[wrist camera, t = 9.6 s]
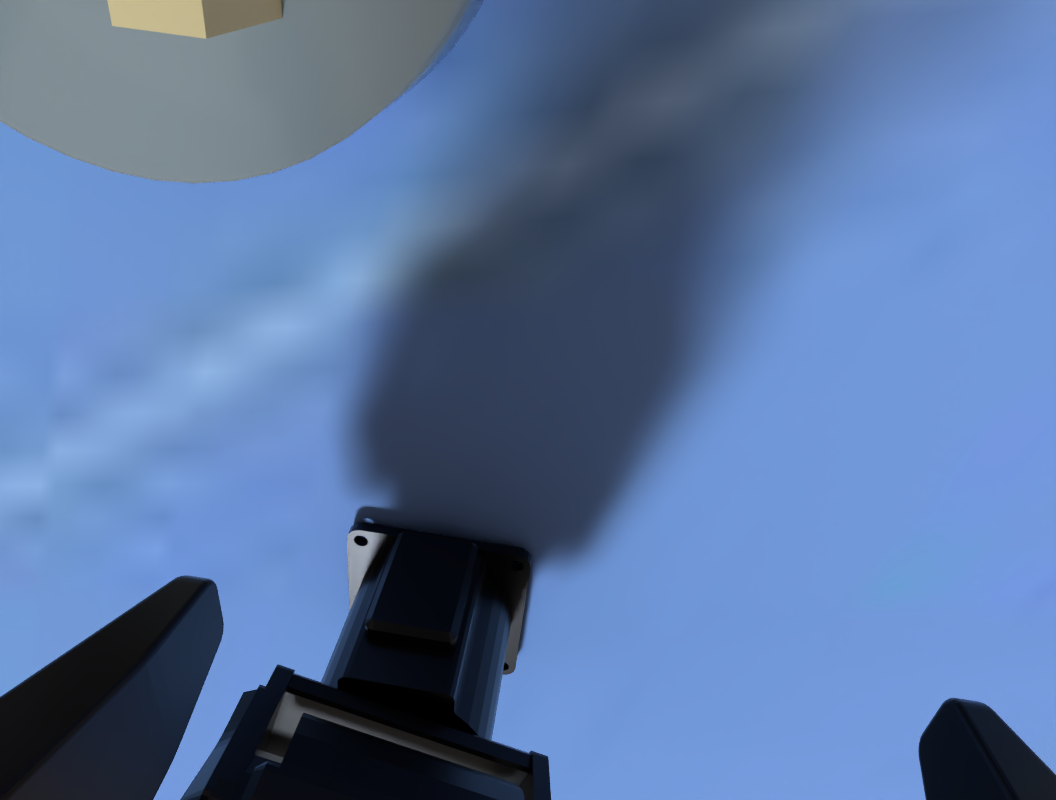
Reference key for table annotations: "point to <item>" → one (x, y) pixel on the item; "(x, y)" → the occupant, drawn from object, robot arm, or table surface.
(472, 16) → the blue-grey bowl
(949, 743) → the robot arm
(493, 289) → the table surface
